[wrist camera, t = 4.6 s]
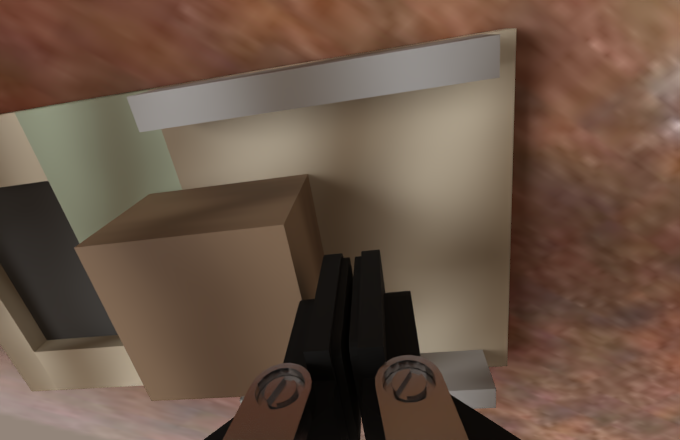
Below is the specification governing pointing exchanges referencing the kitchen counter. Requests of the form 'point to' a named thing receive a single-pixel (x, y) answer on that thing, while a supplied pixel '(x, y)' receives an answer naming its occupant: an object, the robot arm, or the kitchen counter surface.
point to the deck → (273, 162)
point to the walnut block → (207, 282)
